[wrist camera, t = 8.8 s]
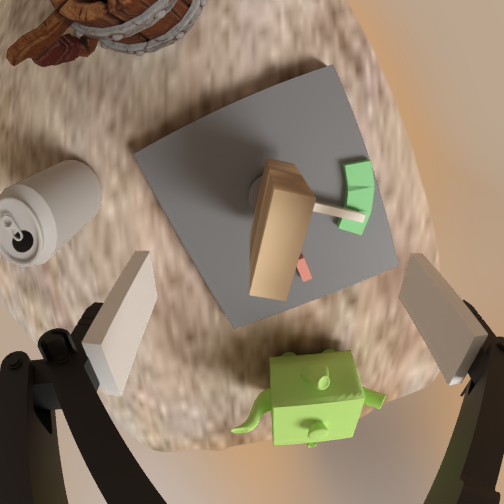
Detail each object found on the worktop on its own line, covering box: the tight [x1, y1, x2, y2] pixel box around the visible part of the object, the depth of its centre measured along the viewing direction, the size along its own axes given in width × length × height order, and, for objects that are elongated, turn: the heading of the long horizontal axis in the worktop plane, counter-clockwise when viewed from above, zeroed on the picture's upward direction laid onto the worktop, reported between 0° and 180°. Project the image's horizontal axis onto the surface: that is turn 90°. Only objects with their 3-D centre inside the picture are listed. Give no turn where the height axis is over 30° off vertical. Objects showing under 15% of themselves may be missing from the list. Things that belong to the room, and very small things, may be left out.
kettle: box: [231, 349, 386, 447], centre depth 38 cm, size 15×14×11 cm
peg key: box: [249, 158, 366, 301], centre depth 25 cm, size 11×7×12 cm, turn 79°
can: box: [0, 160, 102, 267], centre depth 26 cm, size 8×8×12 cm
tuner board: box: [133, 65, 399, 329], centre depth 31 cm, size 22×20×3 cm
